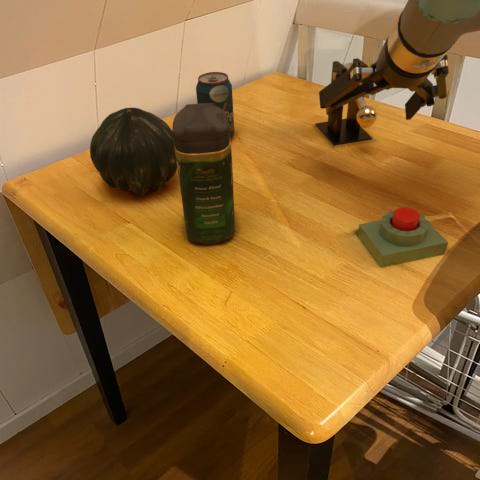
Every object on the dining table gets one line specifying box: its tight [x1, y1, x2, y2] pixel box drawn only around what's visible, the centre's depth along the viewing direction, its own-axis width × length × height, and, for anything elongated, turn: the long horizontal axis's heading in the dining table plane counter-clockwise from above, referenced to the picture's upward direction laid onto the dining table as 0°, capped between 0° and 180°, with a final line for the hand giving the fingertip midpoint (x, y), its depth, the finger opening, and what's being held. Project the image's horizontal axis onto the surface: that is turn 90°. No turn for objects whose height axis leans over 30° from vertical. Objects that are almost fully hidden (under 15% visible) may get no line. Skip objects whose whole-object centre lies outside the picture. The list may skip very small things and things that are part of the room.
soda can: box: [195, 71, 235, 141], centre depth 96 cm, size 7×7×12 cm
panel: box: [357, 210, 449, 268], centre depth 71 cm, size 10×8×4 cm
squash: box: [89, 107, 178, 197], centre depth 84 cm, size 14×15×15 cm
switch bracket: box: [315, 57, 373, 147], centre depth 93 cm, size 10×8×14 cm
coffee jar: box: [171, 103, 236, 245], centre depth 71 cm, size 10×8×19 cm
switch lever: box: [342, 61, 378, 129], centre depth 88 cm, size 13×4×4 cm, turn 14°
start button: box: [392, 207, 420, 231], centre depth 69 cm, size 4×4×2 cm
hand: (369, 115), depth 85 cm, fingers open, 13 cm apart
